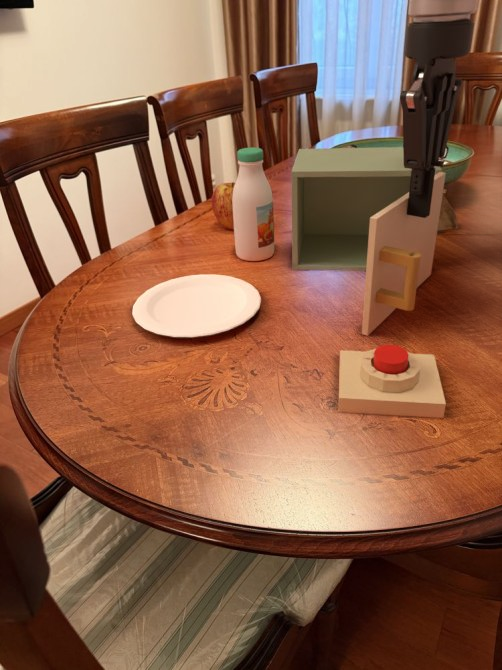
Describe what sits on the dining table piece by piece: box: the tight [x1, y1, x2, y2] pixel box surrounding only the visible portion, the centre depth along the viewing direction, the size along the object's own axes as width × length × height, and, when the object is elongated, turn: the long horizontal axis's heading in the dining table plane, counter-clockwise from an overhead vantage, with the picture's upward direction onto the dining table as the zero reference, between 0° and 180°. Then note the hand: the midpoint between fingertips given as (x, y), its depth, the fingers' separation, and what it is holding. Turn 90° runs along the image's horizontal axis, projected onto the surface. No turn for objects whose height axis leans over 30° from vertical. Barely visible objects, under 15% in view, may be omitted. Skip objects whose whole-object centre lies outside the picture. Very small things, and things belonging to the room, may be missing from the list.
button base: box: [337, 347, 447, 419], centre depth 64 cm, size 12×10×4 cm
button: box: [373, 344, 409, 375], centre depth 63 cm, size 4×4×2 cm
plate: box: [131, 273, 262, 339], centre depth 84 cm, size 21×21×2 cm
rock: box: [437, 192, 459, 235], centre depth 105 cm, size 11×9×10 cm
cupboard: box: [291, 146, 443, 272], centre depth 96 cm, size 16×24×18 cm, turn 81°
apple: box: [211, 181, 236, 231], centre depth 114 cm, size 9×9×10 cm
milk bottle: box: [232, 147, 275, 262], centre depth 97 cm, size 8×8×20 cm
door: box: [361, 171, 447, 337], centre depth 77 cm, size 6×24×18 cm, turn 142°
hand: (418, 214), depth 73 cm, fingers closed
